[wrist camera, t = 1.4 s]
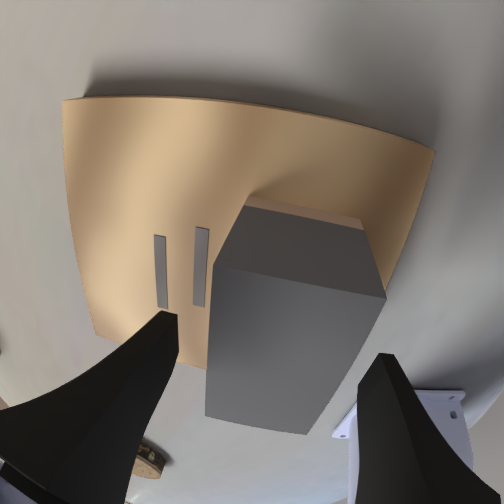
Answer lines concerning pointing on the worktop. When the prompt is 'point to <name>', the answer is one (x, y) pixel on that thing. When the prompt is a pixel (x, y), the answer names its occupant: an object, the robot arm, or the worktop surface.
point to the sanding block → (287, 314)
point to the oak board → (213, 196)
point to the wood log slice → (148, 462)
